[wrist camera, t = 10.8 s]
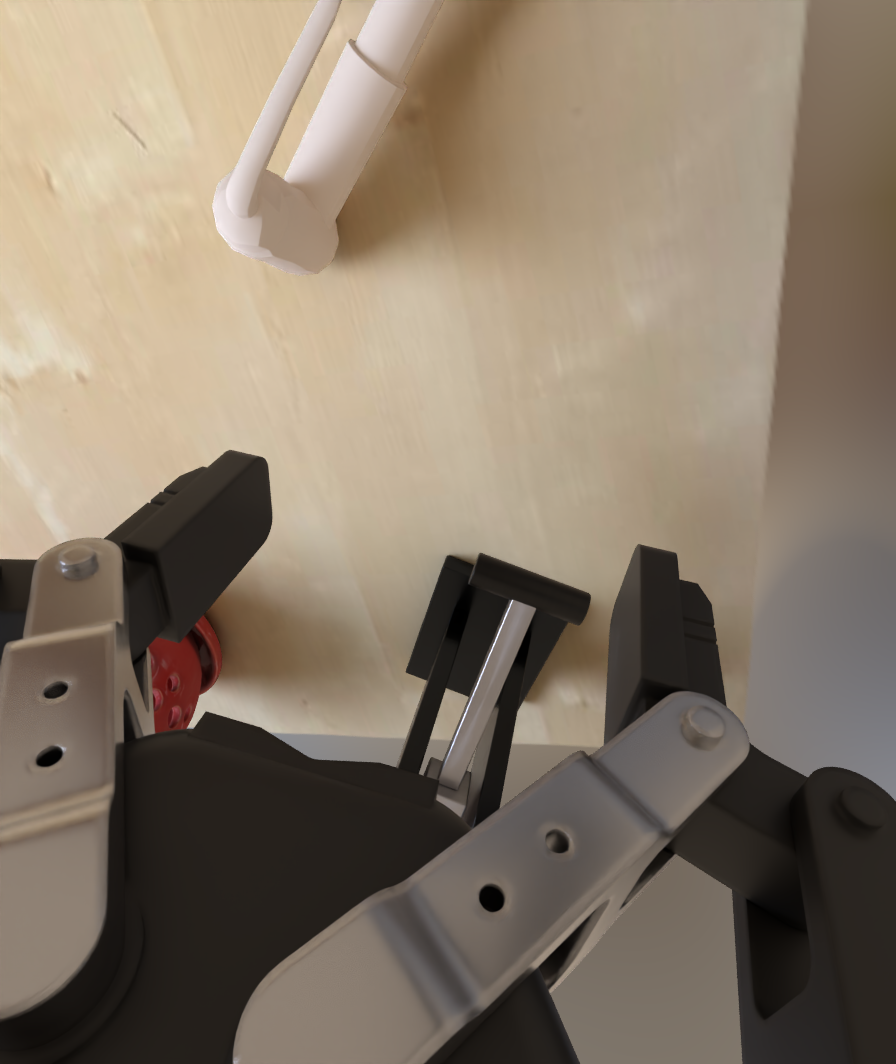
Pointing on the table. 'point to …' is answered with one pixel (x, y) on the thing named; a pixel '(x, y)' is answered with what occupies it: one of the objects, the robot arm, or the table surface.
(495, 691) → the lever
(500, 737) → the bracket
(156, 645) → the flower pot
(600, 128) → the table surface
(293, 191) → the faucet
